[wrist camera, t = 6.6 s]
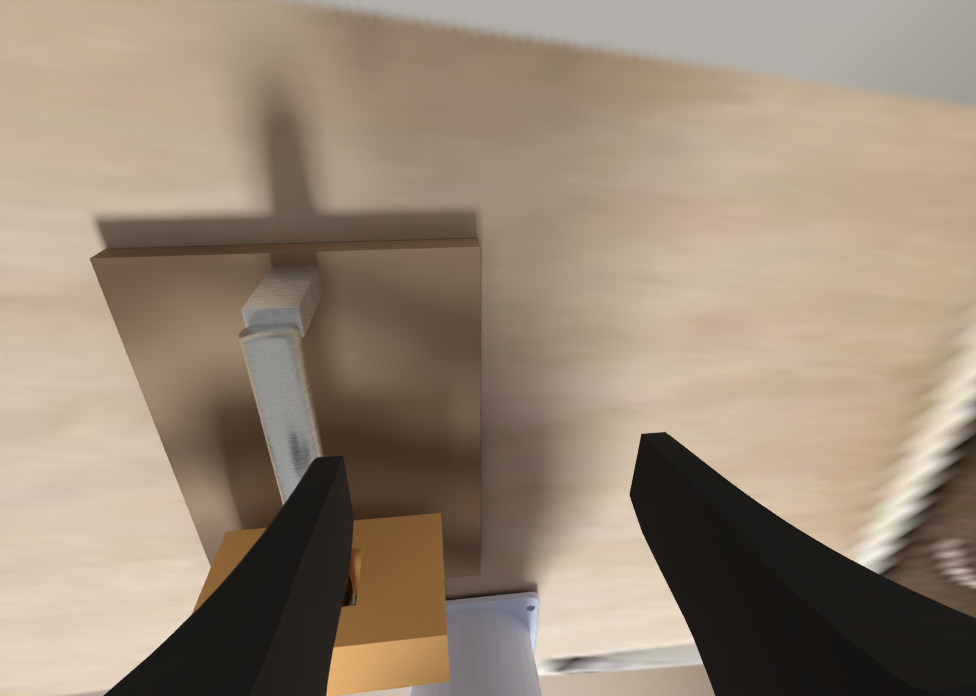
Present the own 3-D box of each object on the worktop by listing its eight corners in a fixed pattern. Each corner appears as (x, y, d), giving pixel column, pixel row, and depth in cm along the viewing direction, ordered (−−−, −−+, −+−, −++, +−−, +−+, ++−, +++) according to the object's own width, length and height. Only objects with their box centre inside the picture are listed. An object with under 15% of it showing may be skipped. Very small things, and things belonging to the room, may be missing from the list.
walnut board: (478, 558, 28) (480, 574, 27) (230, 582, 26) (224, 600, 26) (477, 238, 19) (480, 246, 18) (106, 248, 18) (89, 258, 17)
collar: (443, 557, 24) (449, 681, 19) (242, 576, 23) (195, 712, 18) (441, 513, 23) (446, 635, 18) (225, 531, 22) (170, 665, 17)
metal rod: (372, 579, 26) (363, 678, 22) (336, 582, 26) (320, 684, 22) (321, 265, 18) (291, 328, 14) (268, 267, 18) (221, 331, 13)
